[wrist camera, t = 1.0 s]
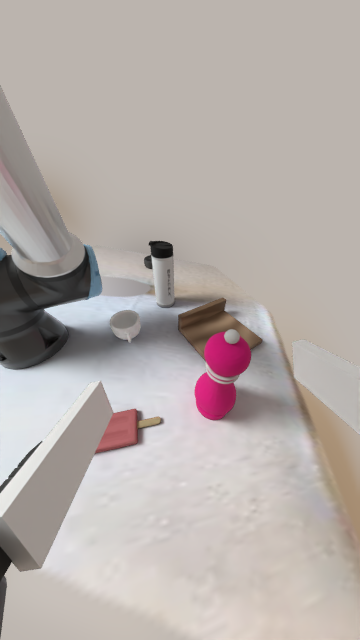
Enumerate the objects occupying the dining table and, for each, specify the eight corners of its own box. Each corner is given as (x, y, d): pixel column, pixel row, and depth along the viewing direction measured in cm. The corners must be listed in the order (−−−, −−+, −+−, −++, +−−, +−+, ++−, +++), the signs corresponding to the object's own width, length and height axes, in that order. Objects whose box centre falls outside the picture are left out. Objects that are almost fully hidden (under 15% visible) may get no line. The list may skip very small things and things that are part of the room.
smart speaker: (165, 267, 81) (165, 259, 78) (148, 271, 78) (147, 262, 75) (159, 261, 86) (158, 253, 84) (142, 264, 83) (141, 256, 81)
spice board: (178, 329, 48) (178, 315, 44) (220, 311, 54) (222, 297, 51) (214, 371, 38) (218, 357, 34) (260, 343, 44) (268, 328, 40)
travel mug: (157, 297, 61) (150, 238, 47) (175, 297, 60) (173, 239, 47) (154, 307, 56) (146, 245, 43) (173, 308, 56) (171, 246, 42)
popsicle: (162, 435, 28) (64, 459, 25) (162, 438, 29) (69, 461, 26) (158, 402, 31) (73, 420, 29) (159, 406, 32) (77, 423, 30)
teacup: (113, 327, 49) (108, 313, 45) (139, 321, 51) (136, 307, 47) (116, 353, 42) (110, 339, 38) (146, 345, 44) (143, 330, 40)
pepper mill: (203, 430, 29) (223, 365, 16) (187, 392, 34) (192, 319, 21) (238, 414, 31) (281, 345, 18) (218, 380, 36) (240, 307, 23)
